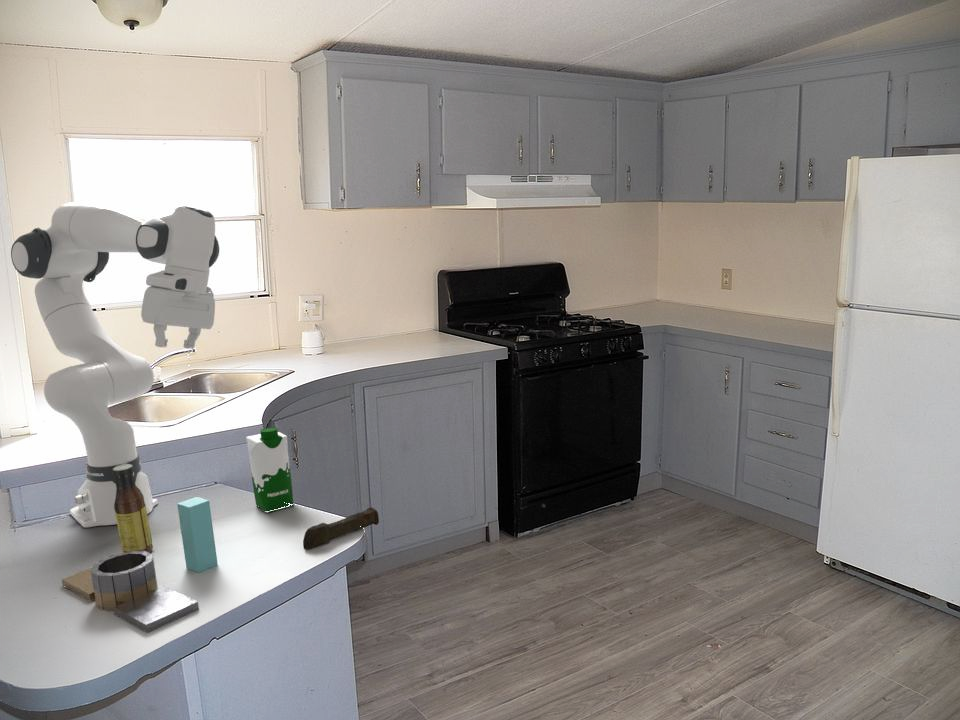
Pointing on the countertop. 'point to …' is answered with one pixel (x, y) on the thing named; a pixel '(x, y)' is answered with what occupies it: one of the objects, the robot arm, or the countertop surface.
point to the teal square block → (197, 534)
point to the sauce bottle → (131, 512)
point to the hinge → (131, 590)
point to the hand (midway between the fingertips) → (175, 347)
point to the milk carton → (270, 469)
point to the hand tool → (338, 528)
